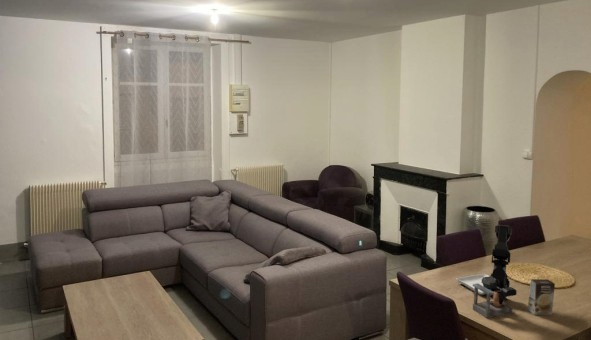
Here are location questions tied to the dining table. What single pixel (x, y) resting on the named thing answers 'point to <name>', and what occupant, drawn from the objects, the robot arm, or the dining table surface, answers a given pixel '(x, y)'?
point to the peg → (496, 299)
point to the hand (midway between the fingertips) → (497, 302)
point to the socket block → (489, 304)
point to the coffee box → (541, 297)
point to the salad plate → (473, 281)
